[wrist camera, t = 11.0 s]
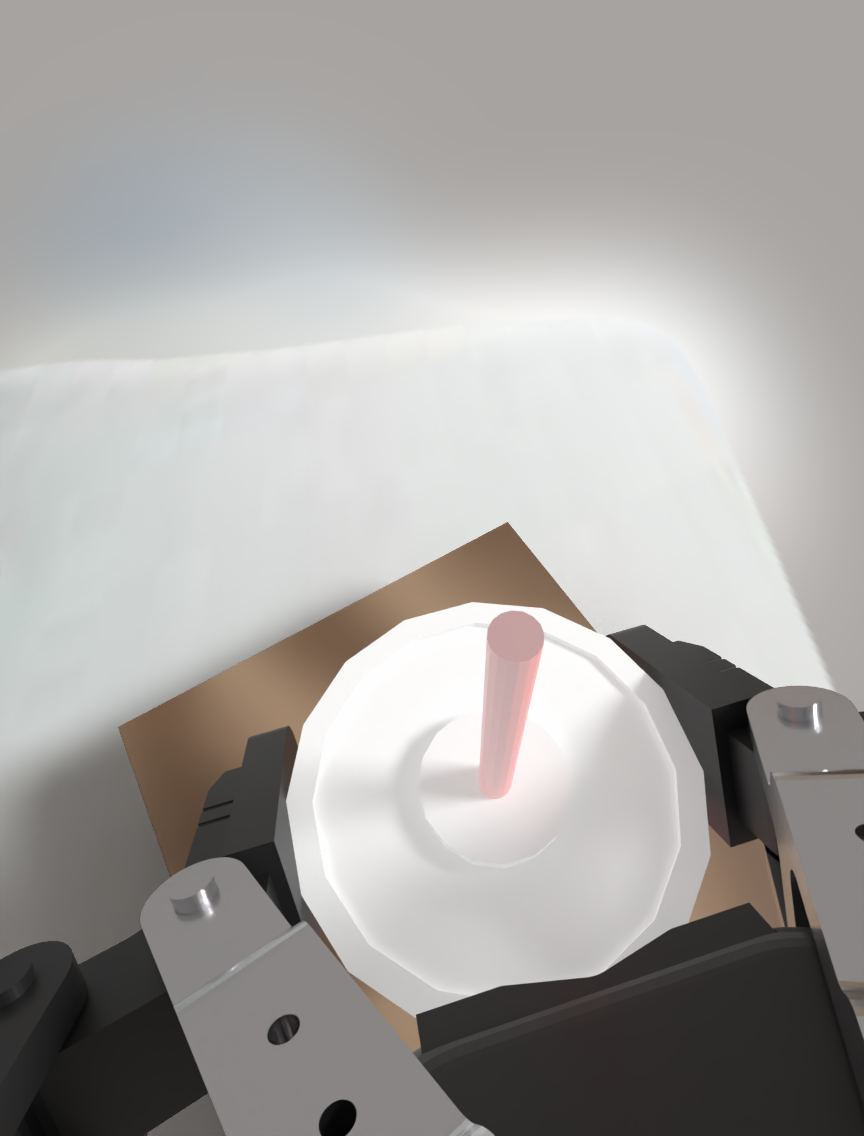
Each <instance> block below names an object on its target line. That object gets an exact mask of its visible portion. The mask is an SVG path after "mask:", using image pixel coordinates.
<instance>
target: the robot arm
mask: <svg viewBox="0 0 864 1136" xmlns="http://www.w3.org/2000/svg"><path fill="white" fill-rule="evenodd" d="M606 637H608V638H610V639H611V640H612V641H613V642H614V643H615V644H616V645H617V646H618V647H619V648H620V649H622V650H623V651H624V652H625V653H626V654H627V655H628V656H629V657H630V658H631V659H632V660H633V661H634V662H635V663H636V664H637V665H638V666H639V667H640V668H641V669H642V670H643V671H644V672H645V673H646V674H647V675H649V676H650V677H651V678H652V679H653V680H654V681H655V682H656V683H657V684H658V685H659V686H660V687H661V688H662V689H663V690H664V692H665V694H666V696H667V698H668V700H669V702H670V704H671V707H672V709H673V711H674V713H675V715H676V717H677V719H678V721H679V723H680V725H681V727H682V729H683V731H684V733H685V735H686V737H687V739H688V741H689V743H690V745H691V747H692V749H693V751H694V753H695V755H696V757H697V759H698V761H699V763H700V765H701V767H702V769H703V771H704V783H705V794H706V806H707V817H708V824H709V825H710V826H711V827H712V829H713V830H714V831H715V832H716V833H717V834H718V835H719V836H720V837H721V838H722V839H723V840H724V841H725V842H726V843H727V844H728V845H729V846H730V847H734V846H737V845H740V844H744V843H747V842H750V841H753V840H756V839H760V840H761V841H762V842H763V843H764V851H765V859H766V867H767V872H768V876H769V880H770V884H771V888H772V892H773V896H774V900H775V904H776V908H777V913H778V917H779V921H780V925H781V927H777V928H772V927H771V926H770V925H769V924H768V923H767V922H766V920H765V919H764V918H763V917H762V916H761V915H760V914H759V913H758V911H757V910H756V909H755V908H754V907H753V906H752V905H751V904H750V902H749V903H746V904H743V905H740V906H737V907H734V908H731V909H728V910H725V911H722V912H719V913H716V914H713V915H710V916H707V917H704V918H701V919H698V920H695V921H692V922H689V923H686V924H683V925H680V926H678V927H675V928H672V929H670V930H668V931H666V932H665V933H663V934H662V935H660V936H659V937H657V938H656V939H654V940H652V941H651V942H649V943H648V944H646V945H645V946H643V947H642V948H640V949H638V950H637V951H635V952H634V953H632V954H631V955H629V956H628V957H626V958H624V959H623V960H621V961H620V962H618V963H617V964H615V965H613V966H612V967H610V968H609V969H607V970H606V971H604V972H602V973H600V974H598V975H595V976H591V977H585V978H575V979H565V980H555V981H545V982H535V983H525V984H515V985H505V986H499V987H496V988H493V989H491V990H488V991H485V992H482V993H479V994H476V995H473V996H470V997H467V998H464V999H461V1000H458V1001H455V1002H452V1003H449V1004H446V1005H443V1006H440V1007H437V1008H434V1009H431V1010H428V1011H425V1012H422V1013H419V1014H416V1019H417V1026H418V1032H419V1038H420V1045H421V1047H420V1048H418V1049H417V1050H415V1051H414V1052H412V1051H411V1050H410V1049H409V1048H408V1046H407V1045H406V1044H405V1043H404V1042H403V1040H402V1039H401V1038H400V1037H399V1035H398V1034H397V1033H396V1032H395V1030H394V1029H393V1028H392V1027H391V1025H390V1024H389V1023H388V1022H387V1020H386V1019H385V1018H384V1017H383V1016H382V1014H381V1013H380V1012H379V1011H378V1009H377V1008H376V1007H375V1006H374V1004H373V1003H372V1002H371V1001H370V999H369V998H368V997H367V996H366V994H365V993H364V992H363V991H362V990H361V988H360V987H359V986H358V985H357V983H356V982H355V981H354V980H353V978H352V977H351V976H350V975H349V973H348V972H347V971H346V970H345V968H344V967H343V966H342V965H341V964H340V962H339V961H338V960H337V959H336V957H335V956H334V955H333V954H332V952H331V951H330V950H329V949H328V947H327V946H326V945H325V944H324V943H323V941H322V940H321V927H320V925H319V923H318V922H317V920H316V918H315V917H314V915H313V913H312V912H311V910H310V908H309V907H308V905H307V904H306V902H305V900H304V899H303V897H302V895H301V890H300V884H299V878H298V872H297V866H296V859H295V853H294V847H293V841H292V835H291V829H290V822H289V816H288V810H287V804H286V799H287V795H288V790H289V786H290V781H291V777H292V773H293V768H294V764H295V759H296V755H297V750H298V745H297V742H296V739H295V736H294V734H293V731H292V729H291V728H290V726H285V727H282V728H278V729H275V730H271V731H268V732H264V733H261V734H257V735H254V736H250V737H249V738H248V741H247V745H246V749H245V754H244V758H243V762H242V767H239V768H235V769H232V770H229V771H225V772H224V773H223V774H222V776H221V777H220V778H219V779H218V780H217V781H216V782H215V784H214V785H213V786H212V787H211V788H210V789H209V790H208V794H207V797H206V800H205V803H204V806H203V812H202V813H201V816H200V819H199V823H198V826H199V827H198V828H197V829H196V832H195V836H194V839H193V842H192V845H191V849H190V852H189V855H188V858H187V862H186V865H185V868H184V869H183V870H181V871H179V872H178V873H176V874H175V875H173V876H172V877H170V878H169V879H167V880H166V881H165V882H164V883H162V884H161V885H160V886H159V887H158V888H157V889H156V890H155V891H154V892H153V893H152V894H151V896H150V897H149V898H148V900H147V901H146V903H145V905H144V906H143V908H142V911H141V914H140V923H141V927H142V930H140V931H139V932H137V933H136V934H134V935H133V936H131V937H130V938H128V939H126V940H124V941H123V942H121V943H119V944H117V945H115V946H113V947H111V948H109V949H108V950H106V951H104V952H102V953H100V954H98V955H96V956H94V957H92V958H90V959H89V960H87V961H85V962H83V963H81V964H79V965H78V964H77V961H76V959H75V957H74V955H73V952H72V950H71V948H70V947H69V946H68V945H67V944H65V943H63V942H58V941H48V942H41V943H37V944H34V945H31V946H28V947H25V948H23V949H20V950H18V951H16V952H14V953H12V954H10V955H8V956H6V957H5V958H3V959H1V960H0V1136H147V1132H149V1131H151V1130H152V1129H154V1128H155V1127H157V1126H158V1125H160V1124H161V1123H163V1122H164V1121H166V1120H167V1119H169V1118H170V1117H172V1116H173V1115H175V1114H177V1113H178V1112H180V1111H181V1110H183V1109H184V1108H186V1107H187V1106H189V1105H190V1104H192V1103H193V1102H195V1101H196V1100H198V1099H200V1098H201V1097H203V1096H204V1095H206V1094H207V1093H209V1095H210V1098H211V1100H212V1103H213V1105H214V1108H215V1110H216V1113H217V1115H218V1118H219V1120H220V1123H221V1125H222V1128H223V1130H224V1133H225V1135H226V1136H864V712H858V711H857V709H856V707H855V706H854V704H853V703H852V702H851V701H850V700H849V699H848V698H846V697H845V696H843V695H841V694H839V693H836V692H834V691H831V690H827V689H823V688H818V687H810V686H786V687H778V688H773V687H771V686H770V685H768V684H766V683H764V682H763V681H761V680H759V679H758V678H756V677H754V676H753V675H751V674H749V673H747V672H746V671H744V670H742V669H741V668H736V666H735V665H734V664H732V663H730V662H729V661H727V660H725V659H723V660H722V659H721V657H720V656H719V655H717V654H715V653H714V652H712V651H710V650H708V649H707V648H705V647H703V646H699V645H694V644H690V643H686V642H682V641H676V642H671V641H670V640H668V639H667V638H665V637H664V636H662V635H660V634H659V633H657V632H656V631H654V630H652V629H651V628H649V627H648V626H646V625H641V626H637V627H634V628H630V629H627V630H623V631H620V632H616V633H613V634H609V635H607V636H606Z"/></svg>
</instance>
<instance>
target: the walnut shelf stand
mask: <svg viewBox="0 0 864 1136" xmlns="http://www.w3.org/2000/svg"><path fill="white" fill-rule="evenodd" d="M471 602H477V603H488V604H500V605H512V606H523V607H535V608H544V609H546V610H548V611H550V612H553V613H555V614H557V615H559V616H561V617H564V618H566V619H568V620H570V621H572V622H575V623H577V624H579V625H581V626H583V627H586V628H588V629H590V630H592V631H594V632H596V631H595V630H594V628H593V627H592V626H591V625H590V623H589V622H588V621H587V620H586V618H585V617H584V616H583V615H582V614H581V612H580V611H579V610H578V609H577V607H576V606H575V605H574V604H573V602H572V601H571V600H570V599H569V597H568V596H567V595H566V594H565V592H564V591H563V590H562V589H561V588H560V586H559V585H558V584H557V583H556V581H555V580H554V579H553V578H552V576H551V575H550V574H549V573H548V571H547V570H546V569H545V568H544V567H543V565H542V564H541V563H540V562H539V560H538V559H537V558H536V557H535V555H534V554H533V553H532V552H531V550H530V549H529V548H528V547H527V545H526V544H525V543H524V542H523V541H522V539H521V538H520V537H519V536H518V534H517V533H516V532H515V531H514V529H513V528H512V527H511V526H510V524H509V523H508V522H507V523H505V524H503V525H501V526H499V527H497V528H496V529H494V530H492V531H490V532H488V533H486V534H484V535H482V536H480V537H478V538H477V539H475V540H473V541H471V542H469V543H467V544H465V545H463V546H461V547H459V548H458V549H456V550H454V551H452V552H450V553H448V554H446V555H444V556H442V557H440V558H439V559H437V560H435V561H433V562H431V563H429V564H427V565H425V566H423V567H421V568H420V569H418V570H416V571H414V572H412V573H410V574H408V575H406V576H404V577H402V578H401V579H399V580H397V581H395V582H393V583H391V584H389V585H387V586H385V587H383V588H382V589H380V590H378V591H376V592H374V593H372V594H370V595H368V596H366V597H364V598H363V599H361V600H359V601H357V602H355V603H353V604H351V605H349V606H347V607H345V608H344V609H342V610H340V611H338V612H336V613H334V614H332V615H330V616H328V617H327V618H325V619H323V620H321V621H319V622H317V623H315V624H313V625H311V626H309V627H308V628H306V629H304V630H302V631H300V632H298V633H296V634H294V635H292V636H290V637H289V638H287V639H285V640H283V641H281V642H279V643H277V644H275V645H273V646H271V647H270V648H268V649H266V650H264V651H262V652H260V653H258V654H256V655H254V656H252V657H251V658H249V659H247V660H245V661H243V662H241V663H239V664H237V665H235V666H233V667H232V668H230V669H228V670H226V671H224V672H222V673H220V674H218V675H216V676H214V677H213V678H211V679H209V680H207V681H205V682H203V683H201V684H199V685H197V686H195V687H194V688H192V689H190V690H188V691H186V692H184V693H182V694H180V695H178V696H176V697H175V698H173V699H171V700H169V701H167V702H165V703H163V704H161V705H159V706H157V707H156V708H154V709H152V710H150V711H148V712H146V713H144V714H142V715H140V716H138V717H137V718H135V719H133V720H131V721H129V722H127V723H125V724H123V725H121V726H119V727H118V728H119V731H120V734H121V737H122V740H123V742H124V745H125V748H126V751H127V754H128V757H129V760H130V762H131V765H132V768H133V771H134V774H135V777H136V779H137V782H138V785H139V788H140V791H141V794H142V797H143V799H144V802H145V805H146V808H147V811H148V814H149V817H150V819H151V822H152V825H153V828H154V831H155V834H156V836H157V839H158V842H159V845H160V848H161V851H162V854H163V856H164V859H165V862H166V865H167V868H168V871H169V873H170V876H171V877H172V876H173V875H175V874H176V873H178V872H179V871H181V870H183V869H184V868H185V865H186V862H187V858H188V855H189V852H190V849H191V845H192V842H193V839H194V836H195V832H196V829H197V828H198V827H199V826H198V823H199V819H200V816H201V813H202V812H203V806H204V803H205V800H206V797H207V794H208V790H209V789H210V788H211V787H212V786H213V785H214V784H215V782H216V781H217V780H218V779H219V778H220V777H221V776H222V774H223V773H224V772H225V771H229V770H232V769H235V768H239V767H242V762H243V758H244V754H245V749H246V745H247V741H248V738H249V737H250V736H254V735H257V734H261V733H264V732H268V731H271V730H275V729H278V728H282V727H285V726H290V728H291V729H292V731H293V734H294V736H295V739H296V742H297V745H298V746H299V742H300V737H301V733H302V728H303V724H304V723H305V721H306V720H307V718H308V717H309V716H310V714H311V713H312V711H313V710H314V708H315V707H316V705H317V704H318V702H319V701H320V699H321V698H322V696H323V695H324V693H325V692H326V690H327V689H328V687H329V686H330V684H331V683H332V681H333V680H334V678H335V677H336V675H337V674H338V672H339V671H340V669H341V668H342V666H343V665H344V663H345V662H346V661H347V660H349V659H350V658H352V657H353V656H355V655H356V654H357V653H359V652H360V651H362V650H363V649H364V648H366V647H367V646H369V645H370V644H371V643H373V642H374V641H376V640H377V639H379V638H380V637H381V636H383V635H384V634H386V633H387V632H388V631H390V630H391V629H393V628H394V627H395V626H397V625H398V624H400V623H401V622H402V621H404V620H407V619H411V618H415V617H418V616H422V615H426V614H430V613H433V612H437V611H441V610H445V609H448V608H452V607H456V606H459V605H463V604H467V603H471ZM708 829H709V841H710V852H711V856H710V859H709V862H708V865H707V868H706V871H705V874H704V877H703V880H702V883H701V886H700V889H699V892H698V895H697V898H696V901H695V904H694V907H693V910H692V913H691V916H690V919H689V922H692V921H695V920H698V919H701V918H704V917H707V916H710V915H713V914H716V913H719V912H722V911H725V910H728V909H731V908H734V907H737V906H740V905H743V904H746V903H749V902H750V904H751V905H752V906H753V907H754V908H755V909H756V910H757V911H758V913H759V914H760V915H761V916H762V917H763V918H764V919H765V920H766V922H767V923H768V924H769V925H770V926H771V927H772V928H777V927H781V925H780V921H779V917H778V913H777V908H776V904H775V900H774V896H773V892H772V888H771V884H770V880H769V876H768V872H767V867H766V859H765V851H764V843H763V842H762V841H761V840H760V839H756V840H753V841H750V842H747V843H744V844H740V845H737V846H734V847H730V846H729V845H728V844H727V843H726V842H725V841H724V840H723V839H722V838H721V837H720V836H719V835H718V834H717V833H716V832H715V831H714V830H713V829H712V827H711V826H710V825H709V824H708ZM689 922H688V923H689ZM321 940H322V941H323V943H324V944H325V945H326V946H327V947H328V949H329V950H330V951H331V952H332V954H333V955H334V956H335V957H336V959H337V960H338V961H339V962H340V964H341V965H342V966H343V967H344V968H345V966H344V964H343V963H342V961H341V959H340V958H339V956H338V954H337V953H336V951H335V949H334V948H333V946H332V945H331V943H330V941H329V940H328V938H327V936H326V935H325V933H324V931H323V930H322V928H321ZM345 970H346V971H347V969H346V968H345ZM347 972H348V971H347ZM348 973H349V975H350V976H351V977H352V978H353V980H354V981H355V982H356V983H357V985H358V986H359V987H360V988H361V990H362V991H363V992H364V993H365V994H366V996H367V997H368V998H369V999H370V1001H371V1002H372V1003H373V1004H374V1006H375V1007H376V1008H377V1009H378V1011H379V1012H380V1013H381V1014H382V1016H383V1017H384V1018H385V1019H386V1020H387V1022H388V1023H389V1024H390V1025H391V1027H392V1028H393V1029H394V1030H395V1032H396V1033H397V1034H398V1035H399V1037H400V1038H401V1039H402V1040H403V1042H404V1043H405V1044H406V1045H407V1046H408V1048H409V1049H410V1050H411V1051H412V1052H414V1051H415V1050H417V1049H418V1048H420V1047H421V1045H420V1038H419V1032H418V1026H417V1019H416V1018H415V1017H413V1016H412V1015H410V1014H409V1013H408V1012H406V1011H405V1010H403V1009H402V1008H400V1007H399V1006H397V1005H396V1004H394V1003H393V1002H392V1001H390V1000H389V999H387V998H386V997H384V996H383V995H381V994H380V993H379V992H377V991H376V990H374V989H373V988H371V987H370V986H368V985H367V984H365V983H364V982H363V981H361V980H360V979H358V978H357V977H355V976H354V975H352V974H351V973H350V972H348Z"/></svg>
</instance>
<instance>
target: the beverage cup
mask: <svg viewBox="0 0 864 1136" xmlns="http://www.w3.org/2000/svg"><path fill="white" fill-rule="evenodd" d="M286 804H287V810H288V816H289V822H290V829H291V835H292V841H293V847H294V853H295V859H296V866H297V872H298V878H299V884H300V890H301V895H302V897H303V899H304V900H305V902H306V904H307V905H308V907H309V908H310V910H311V912H312V913H313V915H314V917H315V918H316V920H317V922H318V923H319V925H320V927H321V928H322V930H323V931H324V933H325V935H326V936H327V938H328V940H329V941H330V943H331V945H332V946H333V948H334V949H335V951H336V953H337V954H338V956H339V958H340V959H341V961H342V963H343V964H344V966H345V968H346V969H347V971H348V972H350V973H351V974H352V975H354V976H355V977H357V978H358V979H360V980H361V981H363V982H364V983H365V984H367V985H368V986H370V987H371V988H373V989H374V990H376V991H377V992H379V993H380V994H381V995H383V996H384V997H386V998H387V999H389V1000H390V1001H392V1002H393V1003H394V1004H396V1005H397V1006H399V1007H400V1008H402V1009H403V1010H405V1011H406V1012H408V1013H409V1014H410V1015H412V1016H413V1017H415V1018H416V1014H419V1013H422V1012H425V1011H428V1010H431V1009H434V1008H437V1007H440V1006H443V1005H446V1004H449V1003H452V1002H455V1001H458V1000H461V999H464V998H467V997H470V996H473V995H476V994H479V993H482V992H485V991H488V990H491V989H493V988H496V987H499V986H505V985H515V984H525V983H535V982H545V981H555V980H565V979H575V978H585V977H591V976H595V975H598V974H600V973H602V972H604V971H606V970H607V969H609V968H610V967H612V966H613V965H615V964H617V963H618V962H620V961H621V960H623V959H624V958H626V957H628V956H629V955H631V954H632V953H634V952H635V951H637V950H638V949H640V948H642V947H643V946H645V945H646V944H648V943H649V942H651V941H652V940H654V939H656V938H657V937H659V936H660V935H662V934H663V933H665V932H666V931H668V930H670V929H672V928H675V927H678V926H680V925H683V924H686V923H688V922H689V919H690V916H691V913H692V910H693V907H694V904H695V901H696V898H697V895H698V892H699V889H700V886H701V883H702V880H703V877H704V874H705V871H706V868H707V865H708V862H709V859H710V856H711V852H710V841H709V829H708V817H707V806H706V794H705V783H704V771H703V769H702V767H701V765H700V763H699V761H698V759H697V757H696V755H695V753H694V751H693V749H692V747H691V745H690V743H689V741H688V739H687V737H686V735H685V733H684V731H683V729H682V727H681V725H680V723H679V721H678V719H677V717H676V715H675V713H674V711H673V709H672V707H671V704H670V702H669V700H668V698H667V696H666V694H665V692H664V690H663V689H662V688H661V687H660V686H659V685H658V684H657V683H656V682H655V681H654V680H653V679H652V678H651V677H650V676H649V675H647V674H646V673H645V672H644V671H643V670H642V669H641V668H640V667H639V666H638V665H637V664H636V663H635V662H634V661H633V660H632V659H631V658H630V657H629V656H628V655H627V654H626V653H625V652H624V651H623V650H622V649H620V648H619V647H618V646H617V645H616V644H615V643H614V642H613V641H612V640H611V639H610V638H608V637H605V636H603V635H601V634H599V633H597V632H594V631H592V630H590V629H588V628H586V627H583V626H581V625H579V624H577V623H575V622H572V621H570V620H568V619H566V618H564V617H561V616H559V615H557V614H555V613H553V612H550V611H548V610H546V609H544V608H535V607H523V606H512V605H500V604H488V603H477V602H471V603H467V604H463V605H459V606H456V607H452V608H448V609H445V610H441V611H437V612H433V613H430V614H426V615H422V616H418V617H415V618H411V619H407V620H404V621H402V622H401V623H400V624H398V625H397V626H395V627H394V628H393V629H391V630H390V631H388V632H387V633H386V634H384V635H383V636H381V637H380V638H379V639H377V640H376V641H374V642H373V643H371V644H370V645H369V646H367V647H366V648H364V649H363V650H362V651H360V652H359V653H357V654H356V655H355V656H353V657H352V658H350V659H349V660H347V661H346V662H345V663H344V665H343V666H342V668H341V669H340V671H339V672H338V674H337V675H336V677H335V678H334V680H333V681H332V683H331V684H330V686H329V687H328V689H327V690H326V692H325V693H324V695H323V696H322V698H321V699H320V701H319V702H318V704H317V705H316V707H315V708H314V710H313V711H312V713H311V714H310V716H309V717H308V718H307V720H306V721H305V723H304V724H303V728H302V733H301V737H300V742H299V746H298V750H297V755H296V759H295V764H294V768H293V773H292V777H291V781H290V786H289V790H288V795H287V799H286Z"/></svg>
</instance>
